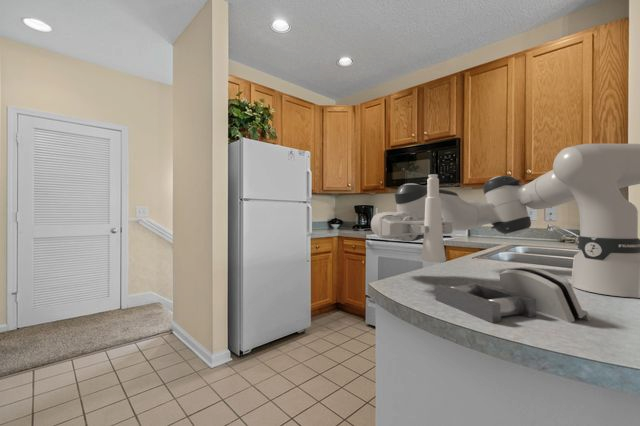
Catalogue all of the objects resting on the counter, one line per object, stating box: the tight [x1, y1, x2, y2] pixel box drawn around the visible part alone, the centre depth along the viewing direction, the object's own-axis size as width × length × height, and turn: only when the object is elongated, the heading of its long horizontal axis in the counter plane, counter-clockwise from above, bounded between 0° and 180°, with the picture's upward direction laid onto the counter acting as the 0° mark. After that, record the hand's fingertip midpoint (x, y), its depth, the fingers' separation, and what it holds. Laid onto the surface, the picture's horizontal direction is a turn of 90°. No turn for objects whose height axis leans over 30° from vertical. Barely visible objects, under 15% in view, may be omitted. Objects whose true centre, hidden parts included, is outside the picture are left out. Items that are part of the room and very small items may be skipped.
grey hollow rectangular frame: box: [434, 281, 537, 324], centre depth 66 cm, size 12×16×4 cm
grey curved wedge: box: [499, 266, 591, 323], centre depth 65 cm, size 17×5×10 cm, turn 8°
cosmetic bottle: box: [420, 173, 447, 263], centre depth 76 cm, size 6×6×22 cm
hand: (436, 229), depth 76 cm, fingers closed on cosmetic bottle, 4 cm apart
